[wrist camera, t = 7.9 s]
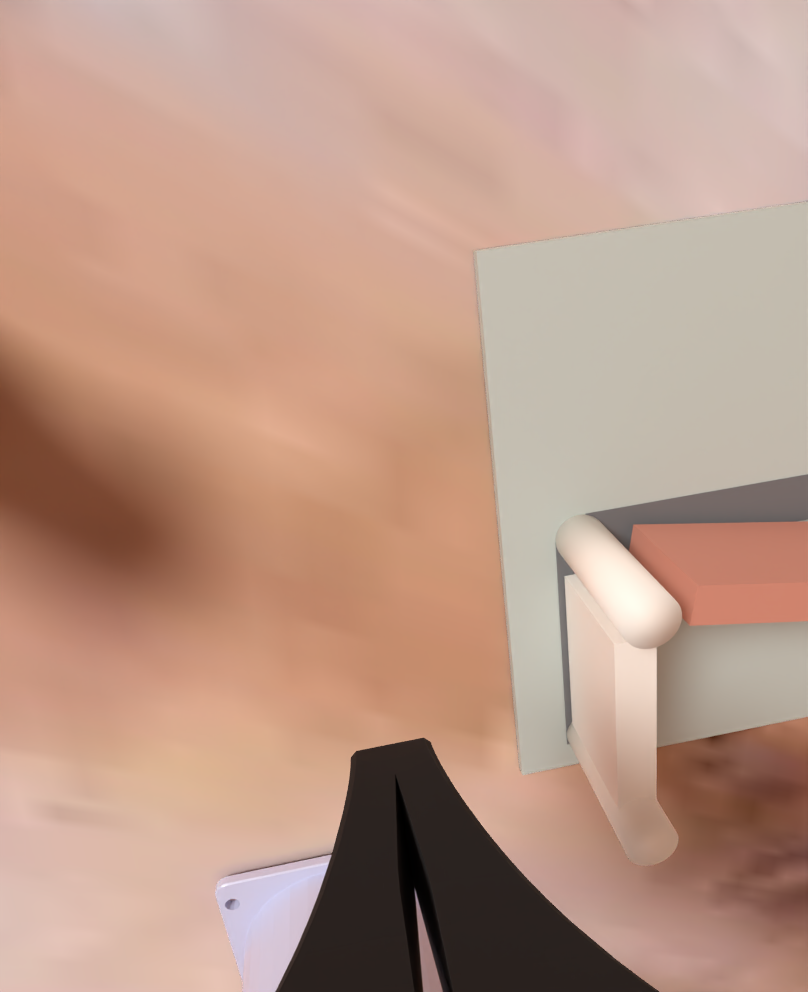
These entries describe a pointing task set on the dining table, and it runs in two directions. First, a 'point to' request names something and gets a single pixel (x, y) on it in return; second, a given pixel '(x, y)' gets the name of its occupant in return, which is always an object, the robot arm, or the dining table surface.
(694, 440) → the card
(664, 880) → the dining table surface
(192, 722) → the dining table surface
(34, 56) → the dining table surface
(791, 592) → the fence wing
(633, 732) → the fence base
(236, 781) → the dining table surface
